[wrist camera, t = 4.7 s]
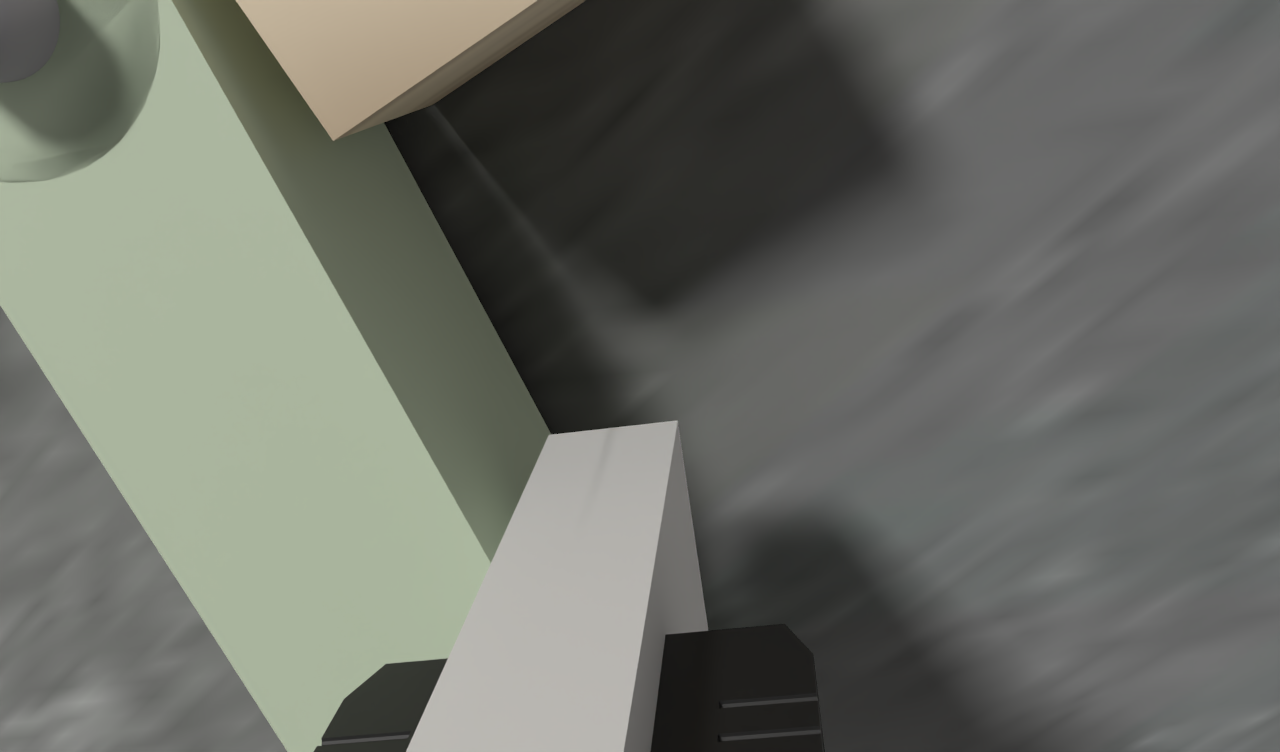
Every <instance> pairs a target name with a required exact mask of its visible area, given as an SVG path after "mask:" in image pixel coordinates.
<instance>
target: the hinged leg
mask: <svg viewBox="0 0 1280 752" xmlns="http://www.w3.org/2000/svg"><path fill="white" fill-rule="evenodd" d="M0 305H1V307H2V309H3V310H4V312H5V313H6V315H7V316H8V318H9V319H10V321H11V323H12V324H13V326H14V327H15V329H16V330H17V332H18V333H19V335H20V337H21V338H22V340H23V341H24V343H25V344H26V346H27V347H28V349H29V351H30V352H31V354H32V355H33V357H34V358H35V360H36V361H37V363H38V365H39V366H40V368H41V369H42V371H43V372H44V374H45V375H46V377H47V379H48V380H49V382H50V383H51V385H52V386H53V388H54V389H55V391H56V392H57V394H58V396H59V397H60V399H61V400H62V402H63V403H64V405H65V406H66V408H67V410H68V411H69V413H70V414H71V416H72V417H73V419H74V420H75V422H76V424H77V425H78V427H79V428H80V430H81V431H82V433H83V434H84V436H85V438H86V439H87V441H88V442H89V444H90V445H91V447H92V448H93V450H94V452H95V453H96V455H97V456H98V458H99V459H100V461H101V462H102V464H103V466H104V467H105V469H106V470H107V472H108V473H109V475H110V476H111V478H112V480H113V481H114V483H115V484H116V486H117V487H118V489H119V490H120V492H121V494H122V495H123V497H124V498H125V500H126V501H127V503H128V504H129V506H130V507H131V509H132V511H133V512H134V514H135V515H136V517H137V518H138V520H139V521H140V523H141V525H142V526H143V528H144V529H145V531H146V532H147V534H148V535H149V537H150V539H151V540H152V542H153V543H154V545H155V546H156V548H157V549H158V551H159V553H160V554H161V556H162V557H163V559H164V560H165V562H166V563H167V565H168V567H169V568H170V570H171V571H172V573H173V574H174V576H175V577H176V579H177V581H178V582H179V584H180V585H181V587H182V588H183V590H184V591H185V593H186V595H187V596H188V598H189V599H190V601H191V602H192V604H193V605H194V607H195V609H196V610H197V612H198V613H199V615H200V616H201V618H202V619H203V621H204V622H205V624H206V626H207V627H208V629H209V630H210V632H211V633H212V635H213V636H214V638H215V640H216V641H217V643H218V644H219V646H220V647H221V649H222V650H223V652H224V654H225V655H226V657H227V658H228V660H229V661H230V663H231V664H232V666H233V668H234V669H235V671H236V672H237V674H238V675H239V677H240V678H241V680H242V682H243V683H244V685H245V686H246V688H247V689H248V691H249V692H250V694H251V696H252V697H253V699H254V700H255V702H256V703H257V705H258V706H259V708H260V710H261V711H262V713H263V714H264V716H265V717H266V719H267V720H268V722H269V724H270V725H271V727H272V728H273V730H274V731H275V733H276V734H277V736H278V737H279V739H280V741H281V742H282V744H283V745H284V747H285V748H286V750H287V751H288V752H314V750H315V748H316V747H317V746H321V745H322V740H321V738H322V736H323V734H324V733H325V731H326V729H327V727H328V726H329V724H330V722H331V720H332V719H333V717H334V715H335V714H336V712H337V710H338V708H339V707H340V705H341V703H342V701H343V700H344V698H346V697H347V696H348V695H349V694H350V693H352V692H353V691H354V690H355V689H356V688H358V687H359V686H360V685H361V684H362V683H364V682H365V681H366V680H367V679H368V678H370V677H371V676H372V675H373V674H374V673H376V672H377V671H378V670H379V669H380V668H382V667H383V666H384V665H385V664H390V663H401V662H412V661H424V660H435V659H446V658H448V657H449V655H450V653H451V651H452V648H453V646H454V644H455V642H456V640H457V637H458V635H459V633H460V631H461V628H462V626H463V624H464V622H465V620H466V617H467V615H468V613H469V611H470V609H471V606H472V604H473V602H474V600H475V597H476V595H477V593H478V591H479V589H480V586H481V584H482V582H483V580H484V577H485V575H486V573H487V571H488V569H489V566H490V564H491V562H492V560H493V558H494V555H495V553H496V551H497V549H498V546H499V544H500V542H501V540H502V538H503V535H504V533H505V531H506V529H507V526H508V524H509V522H510V520H511V518H512V515H513V513H514V511H515V509H516V507H517V504H518V502H519V500H520V498H521V495H522V493H523V491H524V489H525V487H526V484H527V482H528V480H529V478H530V475H531V473H532V471H533V469H534V467H535V464H536V462H537V460H538V458H539V456H540V453H541V451H542V449H543V447H544V444H545V442H546V440H547V438H548V436H549V435H551V433H550V431H549V429H548V427H547V425H546V424H545V422H544V420H543V418H542V416H541V414H540V412H539V411H538V409H537V407H536V405H535V403H534V401H533V399H532V398H531V396H530V394H529V392H528V390H527V388H526V386H525V384H524V383H523V381H522V379H521V377H520V375H519V373H518V371H517V370H516V368H515V366H514V364H513V362H512V360H511V358H510V357H509V355H508V353H507V351H506V349H505V347H504V345H503V343H502V342H501V340H500V338H499V336H498V334H497V332H496V330H495V329H494V327H493V325H492V323H491V321H490V319H489V317H488V316H487V314H486V312H485V310H484V308H483V306H482V304H481V303H480V301H479V299H478V297H477V295H476V293H475V291H474V289H473V288H472V286H471V284H470V282H469V280H468V278H467V276H466V275H465V273H464V271H463V269H462V267H461V265H460V263H459V262H458V260H457V258H456V256H455V254H454V252H453V250H452V248H451V247H450V245H449V243H448V241H447V239H446V237H445V235H444V234H443V232H442V230H441V228H440V226H439V224H438V222H437V221H436V219H435V217H434V215H433V213H432V211H431V209H430V208H429V206H428V204H427V202H426V200H425V198H424V196H423V194H422V193H421V191H420V189H419V187H418V185H417V183H416V181H415V180H414V178H413V176H412V174H411V172H410V170H409V168H408V167H407V165H406V163H405V161H404V159H403V157H402V155H401V153H400V152H399V150H398V148H397V146H396V144H395V142H394V140H393V139H392V137H391V135H390V133H389V131H388V129H387V127H386V126H385V124H384V123H381V124H379V125H376V126H373V127H370V128H368V129H365V130H362V131H359V132H357V133H354V134H351V135H348V136H346V137H343V138H340V139H337V140H335V141H333V140H332V139H331V137H330V136H329V134H328V133H327V131H326V130H325V128H324V127H323V126H322V124H321V123H320V121H319V120H318V118H317V117H316V115H315V114H314V113H313V111H312V110H311V108H310V107H309V105H308V104H307V102H306V101H305V100H304V98H303V97H302V95H301V94H300V92H299V91H298V90H297V88H296V87H295V85H294V84H293V82H292V81H291V79H290V78H289V77H288V75H287V74H286V72H285V71H284V69H283V68H282V66H281V65H280V64H279V62H278V61H277V59H276V58H275V56H274V55H273V53H272V52H271V51H270V49H269V48H268V46H267V45H266V43H265V42H264V40H263V39H262V38H261V36H260V35H259V33H258V32H257V30H256V29H255V28H254V26H253V25H252V23H251V22H250V20H249V19H248V17H247V16H246V15H245V13H244V12H243V10H242V9H241V7H240V6H239V4H238V3H237V2H236V0H0Z"/></svg>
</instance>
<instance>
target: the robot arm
mask: <svg viewBox="0 0 1280 752" xmlns="http://www.w3.org/2000/svg"><path fill="white" fill-rule="evenodd" d="M321 740H322V745H321V746H317V747H316V748H315V750H314V752H825V750H824V741H823V733H822V725H821V716H820V708H819V699H818V691H817V682H816V674H815V666H814V657H813V654H812V653H811V651H810V650H809V649H808V648H807V647H806V646H805V645H804V644H803V643H802V642H801V641H800V640H799V639H798V638H797V637H796V635H795V634H794V633H793V632H792V631H791V630H790V629H789V628H788V627H787V626H786V625H785V624H778V625H767V626H756V627H745V628H733V629H722V630H711V631H708V624H707V617H706V610H705V604H704V597H703V590H702V583H701V576H700V569H699V562H698V556H697V549H696V542H695V535H694V528H693V521H692V514H691V508H690V501H689V494H688V487H687V480H686V473H685V466H684V460H683V453H682V446H681V439H680V432H679V425H678V421H669V422H660V423H651V424H642V425H633V426H624V427H615V428H606V429H597V430H588V431H579V432H570V433H561V434H552V435H549V436H548V438H547V440H546V442H545V444H544V447H543V449H542V451H541V453H540V456H539V458H538V460H537V462H536V464H535V467H534V469H533V471H532V473H531V475H530V478H529V480H528V482H527V484H526V487H525V489H524V491H523V493H522V495H521V498H520V500H519V502H518V504H517V507H516V509H515V511H514V513H513V515H512V518H511V520H510V522H509V524H508V526H507V529H506V531H505V533H504V535H503V538H502V540H501V542H500V544H499V546H498V549H497V551H496V553H495V555H494V558H493V560H492V562H491V564H490V566H489V569H488V571H487V573H486V575H485V577H484V580H483V582H482V584H481V586H480V589H479V591H478V593H477V595H476V597H475V600H474V602H473V604H472V606H471V609H470V611H469V613H468V615H467V617H466V620H465V622H464V624H463V626H462V628H461V631H460V633H459V635H458V637H457V640H456V642H455V644H454V646H453V648H452V651H451V653H450V655H449V657H448V658H446V659H435V660H424V661H412V662H401V663H390V664H385V665H384V666H383V667H382V668H380V669H379V670H378V671H377V672H376V673H374V674H373V675H372V676H371V677H370V678H368V679H367V680H366V681H365V682H364V683H362V684H361V685H360V686H359V687H358V688H356V689H355V690H354V691H353V692H352V693H350V694H349V695H348V696H347V697H346V698H344V700H343V701H342V703H341V705H340V707H339V708H338V710H337V712H336V714H335V715H334V717H333V719H332V720H331V722H330V724H329V726H328V727H327V729H326V731H325V733H324V734H323V736H322V738H321Z"/></svg>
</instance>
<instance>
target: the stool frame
mask: <svg viewBox="0 0 1280 752" xmlns="http://www.w3.org/2000/svg"><path fill="white" fill-rule="evenodd" d="M584 1H586V0H236V2H237V3H238V4H239V6H240V7H241V9H242V10H243V12H244V13H245V15H246V16H247V17H248V19H249V20H250V22H251V23H252V25H253V26H254V28H255V29H256V30H257V32H258V33H259V35H260V36H261V38H262V39H263V40H264V42H265V43H266V45H267V46H268V48H269V49H270V51H271V52H272V53H273V55H274V56H275V58H276V59H277V61H278V62H279V64H280V65H281V66H282V68H283V69H284V71H285V72H286V74H287V75H288V77H289V78H290V79H291V81H292V82H293V84H294V85H295V87H296V88H297V90H298V91H299V92H300V94H301V95H302V97H303V98H304V100H305V101H306V102H307V104H308V105H309V107H310V108H311V110H312V111H313V113H314V114H315V115H316V117H317V118H318V120H319V121H320V123H321V124H322V126H323V127H324V128H325V130H326V131H327V133H328V134H329V136H330V137H331V139H332V140H333V141H335V140H337V139H340V138H343V137H346V136H348V135H351V134H354V133H357V132H359V131H362V130H365V129H368V128H370V127H373V126H376V125H379V124H381V123H384V122H387V121H389V120H392V119H395V118H398V117H400V116H403V115H406V114H409V113H411V112H414V111H417V110H420V109H422V108H425V107H428V106H431V105H433V104H435V103H436V102H438V101H439V100H440V99H442V98H443V97H445V96H446V95H448V94H449V93H451V92H452V91H454V90H455V89H457V88H458V87H460V86H461V85H462V84H464V83H465V82H467V81H468V80H470V79H471V78H473V77H474V76H476V75H477V74H479V73H480V72H482V71H483V70H484V69H486V68H487V67H489V66H490V65H492V64H493V63H495V62H496V61H498V60H499V59H501V58H502V57H504V56H505V55H507V54H508V53H509V52H511V51H512V50H514V49H515V48H517V47H518V46H520V45H521V44H523V43H524V42H526V41H527V40H529V39H530V38H531V37H533V36H534V35H536V34H537V33H539V32H540V31H542V30H543V29H545V28H546V27H548V26H549V25H551V24H552V23H553V22H555V21H556V20H558V19H559V18H561V17H562V16H564V15H565V14H567V13H568V12H570V11H571V10H573V9H574V8H576V7H577V6H578V5H580V4H581V3H583V2H584Z"/></svg>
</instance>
